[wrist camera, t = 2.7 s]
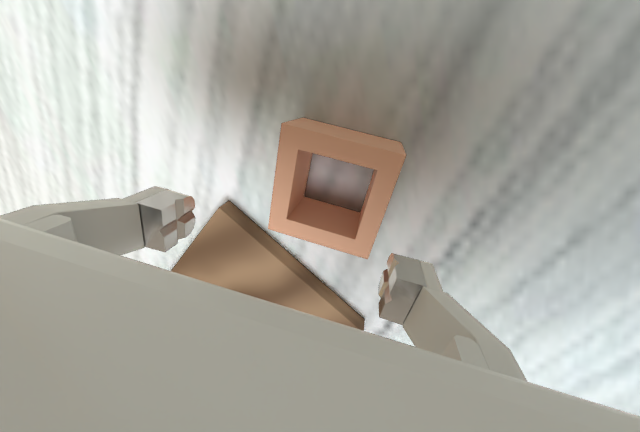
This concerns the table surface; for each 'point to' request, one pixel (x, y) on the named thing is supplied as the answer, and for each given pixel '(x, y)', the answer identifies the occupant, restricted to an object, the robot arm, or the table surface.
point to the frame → (323, 218)
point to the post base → (259, 268)
